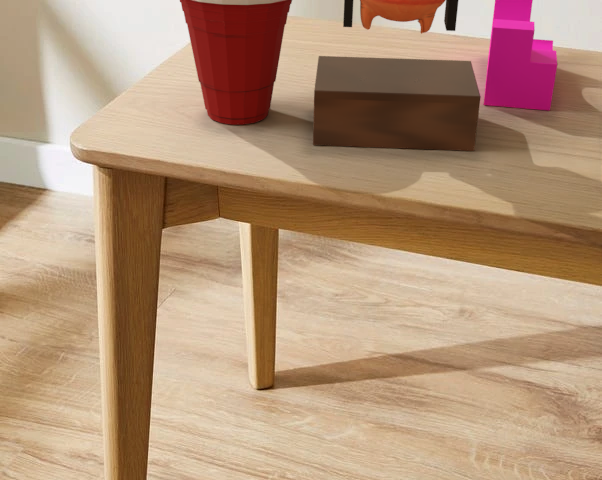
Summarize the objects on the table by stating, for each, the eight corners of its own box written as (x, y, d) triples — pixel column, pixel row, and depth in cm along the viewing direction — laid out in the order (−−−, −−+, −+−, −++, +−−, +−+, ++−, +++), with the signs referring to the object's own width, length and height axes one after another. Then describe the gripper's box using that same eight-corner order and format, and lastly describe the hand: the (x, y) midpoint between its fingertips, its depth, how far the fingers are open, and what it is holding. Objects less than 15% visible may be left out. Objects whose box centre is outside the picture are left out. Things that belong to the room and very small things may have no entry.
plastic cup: (304, 96, 95) (306, -31, 89) (286, 139, 86) (287, 2, 80) (195, 88, 96) (190, -37, 90) (166, 130, 87) (158, -5, 81)
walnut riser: (465, 112, 92) (471, 60, 89) (474, 151, 85) (480, 96, 82) (317, 106, 93) (318, 55, 90) (312, 145, 85) (314, 90, 82)
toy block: (549, 110, 93) (562, 32, 89) (483, 104, 94) (492, 27, 90) (547, 59, 105) (558, -11, 101) (488, 55, 106) (497, -15, 102)
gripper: (556, -285, 74) (515, 15, 86) (282, -291, 75) (280, 7, 87) (574, -281, 68) (527, 42, 80) (274, -288, 68) (273, 33, 81)
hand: (398, 23), depth 84 cm, fingers closed on pot, 8 cm apart
